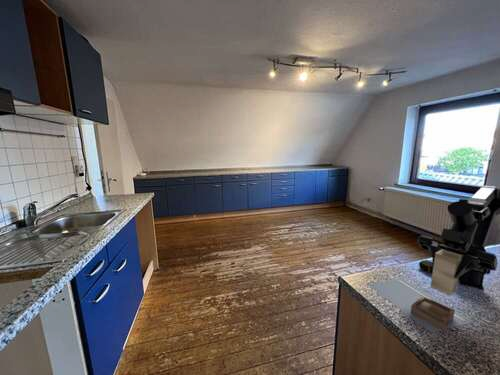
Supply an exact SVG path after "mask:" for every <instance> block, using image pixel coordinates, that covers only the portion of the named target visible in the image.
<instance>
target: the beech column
mask: <svg viewBox="0 0 500 375" xmlns="http://www.w3.org/2000/svg"><path fill="white" fill-rule="evenodd" d="M461 261H462V255H460V254H457V253H453V252H450V251H447V250H443V249H441V250H440V251H438V252H436V253H435V259H434V267H433V274H432V275H431V281H430V289H433V290H436V291H438V292H440V293H443V294H444V295H447V296H449V297H451V296H452V295H454V293H456V292H457V291H458V290H457V289H458V284H459V281H458V279H459V278H457V279H455V277H454V276H455V274H456V271H457V269H458V268H459V266H460V264H461Z"/></svg>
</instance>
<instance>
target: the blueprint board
mask: <svg viewBox="0 0 500 375" xmlns="http://www.w3.org/2000/svg"><path fill="white" fill-rule="evenodd" d="M367 285H368V286H369V287H371V288H372V289H373V290H375V291H376V292H377V293H378V294H380V295H381V296H383V297H384V298H385V299H386V300H388V302H390V303H391V304H393V305H394V306H396V307H397V308H398V309H399V310H401V311H402V312H403V313H404V314H406V315H408V316H409V317H410V318H412V319H413V320H414V321H415V322H417V323H418V324H419V325H421V326H422V327H423V328H425V329H426V330H428V331H429V332H430V333H431V334H432V333H433V334H434V333H436V332H440V331H445V330H449V329H452V328H455V327H460V326H464V325H467V324H471V323H474V322H475V321H473V320H472V319H470V318H469V317H467V316H465V315H464V314H462V313H460V312H459V311H457V310H455V309H453V307H451V306H448V305H447V304H446V303H444V302H442V301H440V299H437V298H435V297H434V296H433V295H430V294H429V293H427V291H424V290H422V289H420V288H419V287H418V286H416V285H414V284H412V283H410V282H409V281H407V280H405V279H404V278H403V277H398V278H394V279H393V278H392V279H389V280H388V279H387V280H383V281H377V282H372V283H367ZM422 296H424V297H426V298H429V299H431V300H433V301H435V302H438V303H440V304H442V305H444V306H446V307H449V308H451V309H453V310H455V311H454V318H453V320H452V321H451V322H450V323H449V324H448V325H447V326H446V327H445V328H444V329H443V330H442V329H440V328H438V327H436V326H434V325H432V324H431V323H429V322H427V321H425V320H423V319H421V318H419V317H417V316H415V315H414V314H412V313H411V305H412V304H413V303H415V302H416V301H417V300H418V299H420V298H421V297H422Z"/></svg>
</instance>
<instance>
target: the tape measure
mask: <svg viewBox="0 0 500 375" xmlns="http://www.w3.org/2000/svg"><path fill="white" fill-rule="evenodd" d="M418 266H419V269H420V270H421V271H424V273H425V272H426V273H427V274H433V263H432V261H431V260H428V259H424V260H421V261H419V263H418Z"/></svg>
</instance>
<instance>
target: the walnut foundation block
mask: <svg viewBox="0 0 500 375" xmlns="http://www.w3.org/2000/svg"><path fill="white" fill-rule="evenodd" d="M449 307H450V306H449ZM449 307H446V306H444V305H442V304H440V303H438V302H435V301H433V300H431V299H429V298H426V297H424V296H422V297H421V298H420V299H418V300H417V301H416V302H415V303H413V304H412V305H411V313H412V314H414V315H415V316H417V317H419V318H421V319H423V320H425V321H427V322H429V323H431V324H432V325H434V326H436V327H438V328H440V329H442V330H441V331H444V330H443V329H444V328H445V327H446V326H447V325H448V324H449V323H450V322H451V321H452V320H453V318H454V311H455V309H454V310H453V308H452V307H451V308H452V309H451V308H449Z"/></svg>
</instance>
